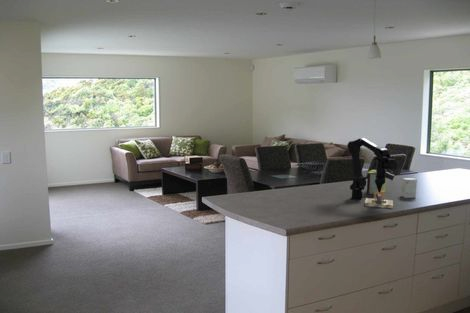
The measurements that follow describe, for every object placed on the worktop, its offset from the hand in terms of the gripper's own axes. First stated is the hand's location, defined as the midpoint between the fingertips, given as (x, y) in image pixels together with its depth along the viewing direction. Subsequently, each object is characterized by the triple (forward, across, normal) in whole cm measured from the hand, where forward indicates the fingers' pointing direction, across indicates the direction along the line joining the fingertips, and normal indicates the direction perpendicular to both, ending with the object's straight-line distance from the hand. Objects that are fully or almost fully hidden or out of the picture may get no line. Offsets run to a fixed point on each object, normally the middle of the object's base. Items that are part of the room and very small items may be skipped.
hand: (379, 191), depth 319 cm
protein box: (+9, +39, +3) cm, 40 cm away
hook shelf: (+8, 0, 0) cm, 9 cm away
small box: (+9, +33, -19) cm, 39 cm away
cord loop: (+5, 0, 0) cm, 5 cm away
